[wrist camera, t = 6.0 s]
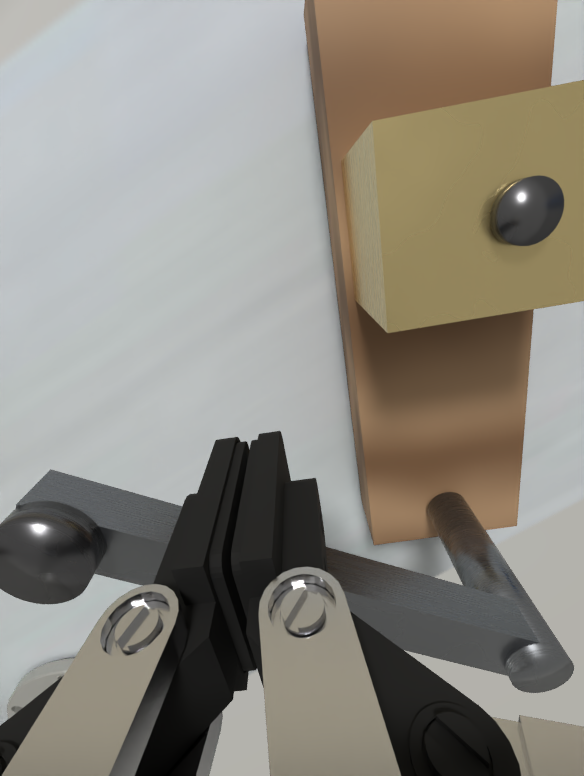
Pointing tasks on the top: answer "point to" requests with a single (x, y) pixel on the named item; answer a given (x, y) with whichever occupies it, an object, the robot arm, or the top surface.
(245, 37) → the top surface
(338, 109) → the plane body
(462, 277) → the tan knob block
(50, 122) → the top surface
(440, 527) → the lever
